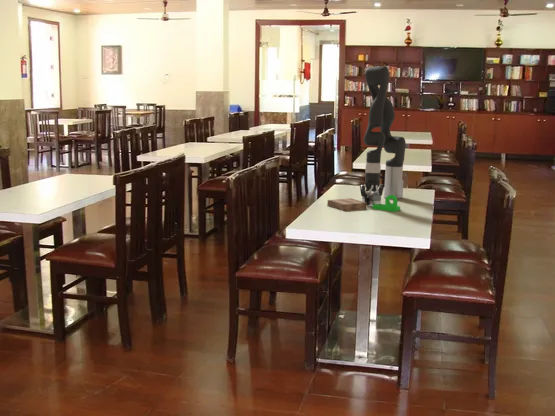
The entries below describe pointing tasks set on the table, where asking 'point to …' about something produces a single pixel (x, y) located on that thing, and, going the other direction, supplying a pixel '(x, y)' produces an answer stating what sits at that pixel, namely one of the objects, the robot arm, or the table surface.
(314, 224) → the table surface
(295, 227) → the table surface
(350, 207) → the walnut stand
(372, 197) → the block
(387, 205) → the mechanical part
